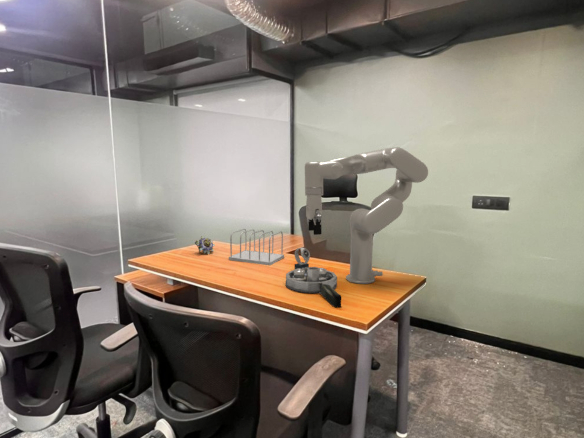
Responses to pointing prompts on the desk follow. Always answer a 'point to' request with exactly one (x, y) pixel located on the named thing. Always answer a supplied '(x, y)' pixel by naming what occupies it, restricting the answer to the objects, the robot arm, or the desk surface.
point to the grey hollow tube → (313, 274)
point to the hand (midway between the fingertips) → (314, 232)
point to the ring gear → (310, 285)
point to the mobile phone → (331, 295)
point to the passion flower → (205, 245)
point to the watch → (305, 255)
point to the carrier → (300, 276)
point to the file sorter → (254, 255)
